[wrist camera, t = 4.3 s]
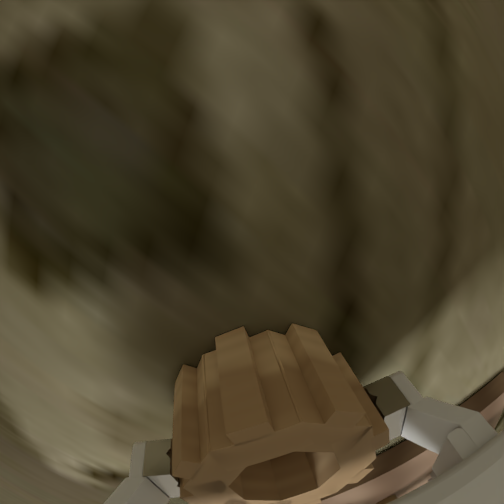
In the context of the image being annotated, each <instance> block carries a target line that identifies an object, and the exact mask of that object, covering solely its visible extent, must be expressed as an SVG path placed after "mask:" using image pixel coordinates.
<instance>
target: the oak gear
mask: <svg viewBox="0 0 504 504" xmlns="http://www.w3.org/2000/svg"><path fill="white" fill-rule="evenodd" d="M215 343H216V350H214V351H212V352H209V353H206V354H203V355H202V358H201V360H200V362H199V364H198V367H197V368H194V367H191V366H187V365H184V364H183V366H182V368H181V370H180V373H179V375H178V377H177V380H176V382H175V391H174V411H173V439H172V476H174V477H179V478H180V498H181V499H183V500H184V501H186V502H187V503H189V504H318V503H321V502H322V501H321V498H323V497H326V496H329V495H331V494H334V493H337V492H338V491H339V490H340V489H342V488H343V487H344V486H345V485H346V484H352V483H358V482H359V481H360V480H361V479H362V478H364V477H365V476H366V475H367V474H368V473H369V472H370V471H372V470H373V469H374V467H373V465H372V462H373V461H374V460H375V459H376V458H377V457H376V452H375V450H377V449H379V448H381V447H383V446H385V445H387V444H389V428H388V427H387V425H386V423H385V422H384V420H383V419H382V417H381V415H380V414H379V412H378V411H377V409H376V407H375V406H374V404H373V403H372V401H371V399H370V398H369V396H368V395H367V393H366V392H365V390H364V388H363V387H362V385H361V384H360V382H359V381H358V379H357V377H356V376H355V374H354V373H353V371H352V370H351V368H350V366H349V365H348V363H347V362H346V360H345V359H344V357H343V356H342V354H341V352H340V353H337V354H335V355H333V356H332V355H331V353H330V352H329V350H328V348H327V347H326V345H325V343H324V342H323V340H322V338H321V337H320V335H319V333H318V332H317V330H314V329H310V328H307V327H304V326H300V325H297V324H293V323H292V324H291V326H290V327H289V329H288V331H287V333H286V334H285V335H283V334H280V333H276V332H273V331H269V330H266V331H264V332H262V333H259V334H257V335H254V336H251V337H249V336H248V334H247V332H246V330H245V328H244V326H243V327H240V328H237V329H235V330H232V331H230V332H227V333H224V334H222V335H219V336H216V337H215Z"/></svg>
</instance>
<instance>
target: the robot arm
mask: <svg viewBox="0 0 504 504" xmlns="http://www.w3.org/2000/svg"><path fill="white" fill-rule="evenodd" d="M363 388H364V390H365V392H366V393H367V395H368V396H369V398H370V399H371V401H372V403H373V404H374V406H375V407H376V409H377V411H378V412H379V414H380V415H381V417H382V419H383V420H384V422H385V423H386V425H387V427H388V428H389V440H391V439H394V438H396V437H398V436H400V435H401V436H402V437H404V438H406V439H408V440H410V441H412V442H414V443H416V444H418V445H420V446H422V447H424V448H426V449H428V450H430V451H432V452H434V453H437V454H439V455H438V457H437V459H436V461H435V463H434V465H433V467H432V469H433V471H434V473H435V474H436V476H437V477H436V478H434V479H432V480H431V481H429V482H427V483H426V484H424V485H422V486H420V487H418V488H416V489H415V490H413V491H411V492H409V493H407V494H405V495H403V496H401V497H399V498H397V499H395V500H393V501H391V502H389V503H386V504H504V429H503V430H502V431H501V432H500V433H499V434H498V433H497V432H496V431H495V430H494V429H493V428H492V426H491V425H490V424H489V423H488V422H487V421H486V420H485V418H484V417H483V416H482V415H481V414H480V413H479V412H477V411H473V410H470V409H466V408H463V407H459V406H456V405H453V404H449V403H446V402H443V401H440V400H437V399H433V398H430V397H425V398H423V396H422V395H421V394H420V393H419V391H418V390H417V389H416V388H415V387H414V385H413V384H412V383H411V382H410V381H409V379H408V378H407V377H406V376H405V374H404V373H403V372H401V371H398V372H396V373H394V374H391V375H389V376H386V377H384V378H382V379H380V380H377V381H375V382H373V383H370V384H368V385H366V386H363ZM173 497H180V478H179V477H174V476H172V439H164V440H153V441H142V442H135V443H134V445H133V448H132V456H131V464H130V473H129V478H125V479H124V480H123V481H122V483H121V484H120V485H119V486H118V487H117V489H116V490H115V491H114V492H113V493H112V494H111V496H110V497H109V498H108V499H107V500H106V501H105V503H104V504H167V503H168V502H169V500H170V498H173Z"/></svg>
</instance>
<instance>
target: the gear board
mask: <svg viewBox="0 0 504 504" xmlns="http://www.w3.org/2000/svg"><path fill="white" fill-rule="evenodd" d="M459 407H463V408H466V409H470V410H473V411H477V412H479V413H480V414H481V415H482V416H483V417H484V418H485V420H486V421H487V422H488V423H489V424H490V425H491V426H492V428H493V429H495V427H496V425H497V422H498V420H499V418H500V416H501V414H502V412H503V409H504V372H501V373H500V374H499V375H498V376H496V377H495V378H494V379H493V380H492V381H491V382H489V383H488V384H487V385H486V386H485V387H483V388H482V389H481V390H480V391H478V392H477V393H476V394H474V395H473V396H472V397H471V398H469V399H468V400H467V401H465V402H464V403H463V404H461V405H460V406H459ZM438 455H439V454H437V453H434V452H432V451H430V450H428V449H426V448H424V447H422V446H420V445H418V444H416V443H414V442H412V441H410V440H408V439H407V440H406V441H404V442H402V443H400V444H398V445H397V446H395V447H393V448H391V449H389V450H387V451H385V452H383V453H381V454H379V455H377V456H376V457H377V458H376V459H375V460H374V461H373V462H372V465H373V467H374V469H373V470H372V471H370V472H369V473H368V474H367V475H366V476H365V477H364V478H362V479H361V480H360V481H359V482H358V483H352V484H346V485H345V486H344V487H343V488H342V489H340V490H339V491H338V492H337V493H334V494H331V495H329V496H326V497H323V498H321V501H322V502H321V503H318V504H386V503H389V502H391V501H393V500H395V499H397V498H399V497H401V496H403V495H405V494H407V493H409V492H411V491H413V490H415V489H416V488H418V487H420V486H422V485H424V484H426V483H427V482H429V481H431V480H432V479H434V478H436V477H437V476H436V474H435V473H434V471H433V469H432V467H433V465H434V463H435V461H436V459H437V457H438Z"/></svg>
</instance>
